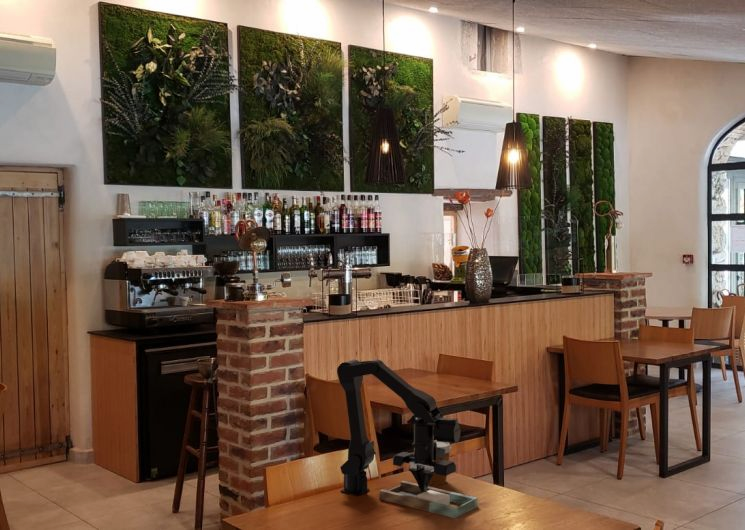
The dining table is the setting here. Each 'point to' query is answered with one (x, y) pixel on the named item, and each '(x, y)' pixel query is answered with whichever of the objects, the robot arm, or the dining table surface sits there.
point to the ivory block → (435, 497)
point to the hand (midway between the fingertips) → (423, 492)
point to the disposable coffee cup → (439, 478)
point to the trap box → (408, 497)
